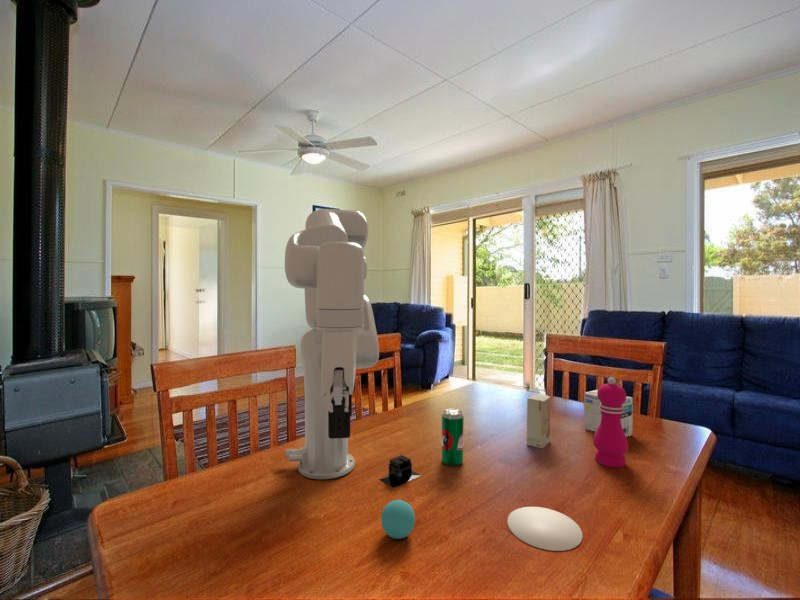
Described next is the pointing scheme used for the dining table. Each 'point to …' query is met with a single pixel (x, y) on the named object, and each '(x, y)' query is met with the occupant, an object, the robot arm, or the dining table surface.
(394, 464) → the black box
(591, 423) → the light bulb box
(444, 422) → the soda can
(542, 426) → the skincare box
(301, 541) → the dining table surface
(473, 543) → the dining table surface
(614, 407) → the pepper mill
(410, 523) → the ball
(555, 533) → the white rounded object
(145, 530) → the dining table surface
